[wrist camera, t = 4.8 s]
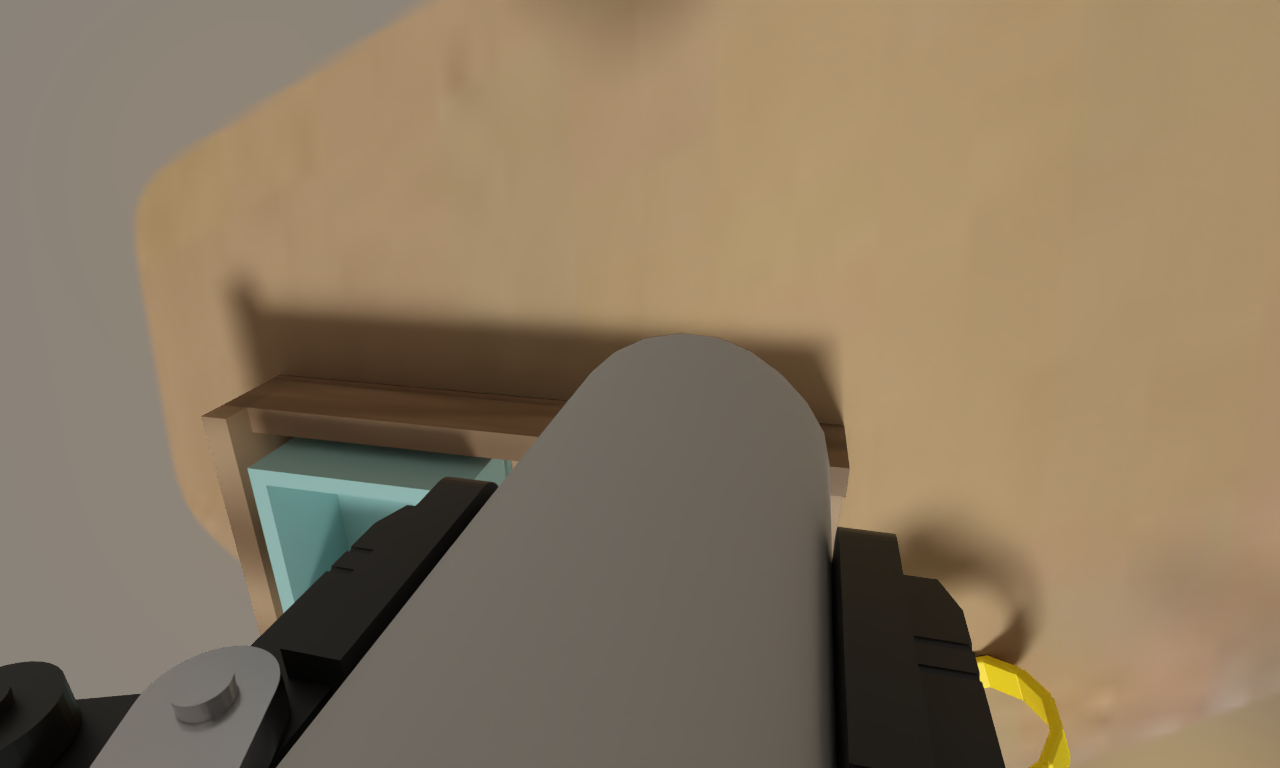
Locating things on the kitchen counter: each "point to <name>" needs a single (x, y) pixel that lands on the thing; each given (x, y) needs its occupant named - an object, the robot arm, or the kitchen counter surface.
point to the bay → (382, 444)
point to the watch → (1036, 697)
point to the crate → (342, 499)
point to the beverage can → (622, 591)
